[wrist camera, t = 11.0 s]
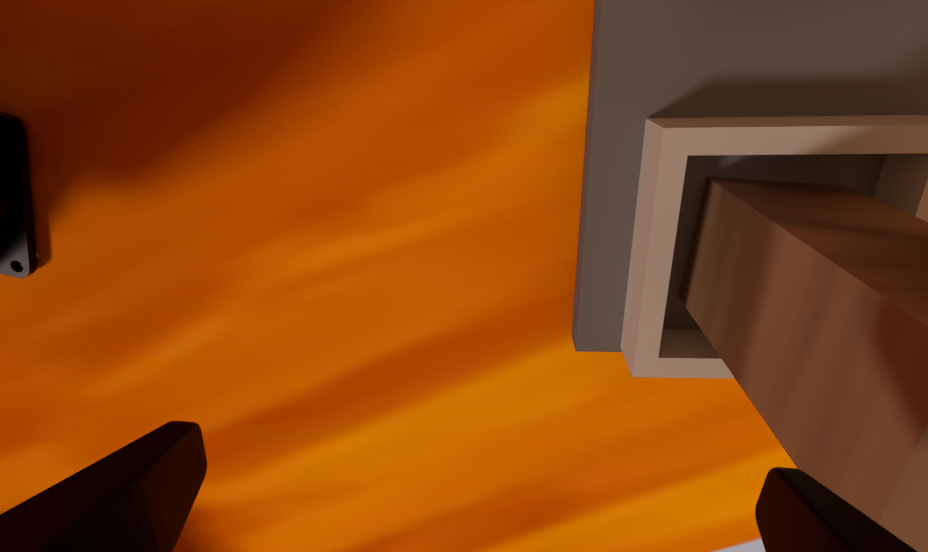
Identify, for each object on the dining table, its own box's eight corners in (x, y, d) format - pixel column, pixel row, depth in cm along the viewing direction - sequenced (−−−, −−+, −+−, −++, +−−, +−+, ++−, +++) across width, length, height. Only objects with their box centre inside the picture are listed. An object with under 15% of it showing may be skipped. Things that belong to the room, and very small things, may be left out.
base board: (625, -438, 14) (677, -625, 10) (1142, -474, 13) (1417, -688, 9) (571, 335, 22) (587, 398, 19) (875, 338, 22) (957, 403, 18)
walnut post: (678, 297, 20) (860, 558, 10) (706, 177, 18) (962, 350, 8) (802, 305, 20) (1110, 578, 10) (842, 185, 18) (1270, 371, 8)
